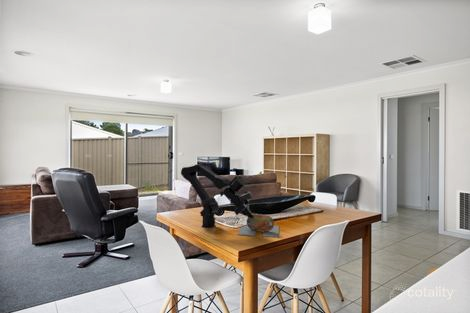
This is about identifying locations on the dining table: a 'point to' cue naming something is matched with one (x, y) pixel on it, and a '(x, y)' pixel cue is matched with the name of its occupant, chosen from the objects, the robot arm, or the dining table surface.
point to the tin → (260, 223)
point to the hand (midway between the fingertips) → (253, 217)
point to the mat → (248, 232)
